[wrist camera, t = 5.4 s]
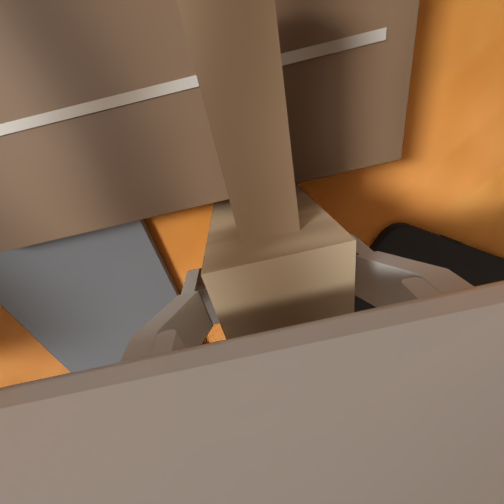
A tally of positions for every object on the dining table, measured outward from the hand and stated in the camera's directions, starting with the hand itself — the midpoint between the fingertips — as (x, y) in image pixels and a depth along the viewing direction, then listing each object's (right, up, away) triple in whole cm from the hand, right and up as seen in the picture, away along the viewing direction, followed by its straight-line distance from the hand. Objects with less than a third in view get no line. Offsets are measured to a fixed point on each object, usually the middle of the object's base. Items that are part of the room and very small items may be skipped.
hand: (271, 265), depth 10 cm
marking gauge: (-1, +4, +1) cm, 4 cm away
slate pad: (-10, -3, +5) cm, 12 cm away
